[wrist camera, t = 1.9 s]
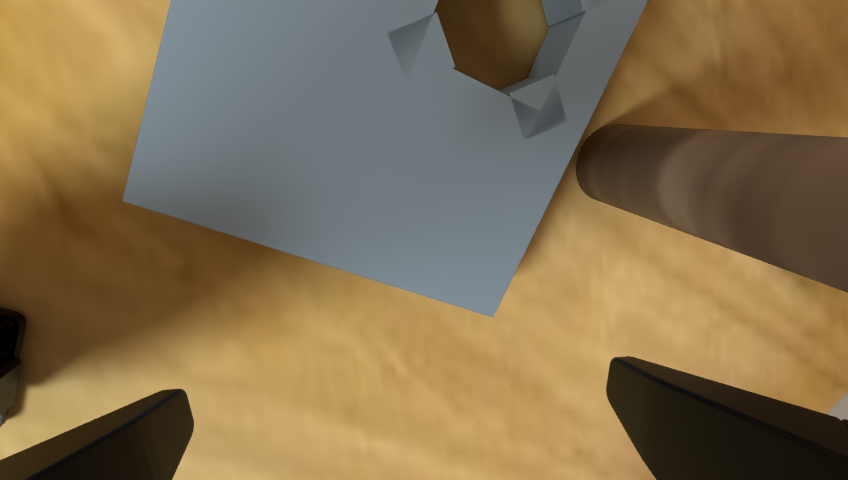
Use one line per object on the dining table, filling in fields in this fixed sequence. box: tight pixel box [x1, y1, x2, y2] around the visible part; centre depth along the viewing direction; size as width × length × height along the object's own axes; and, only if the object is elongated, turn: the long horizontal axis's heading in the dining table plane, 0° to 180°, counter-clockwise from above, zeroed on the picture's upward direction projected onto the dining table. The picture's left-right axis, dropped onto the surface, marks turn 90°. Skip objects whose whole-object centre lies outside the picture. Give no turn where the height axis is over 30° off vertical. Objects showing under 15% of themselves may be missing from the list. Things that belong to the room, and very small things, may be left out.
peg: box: [576, 124, 848, 292], centre depth 16 cm, size 4×4×12 cm
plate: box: [122, 0, 648, 317], centre depth 17 cm, size 16×16×3 cm
